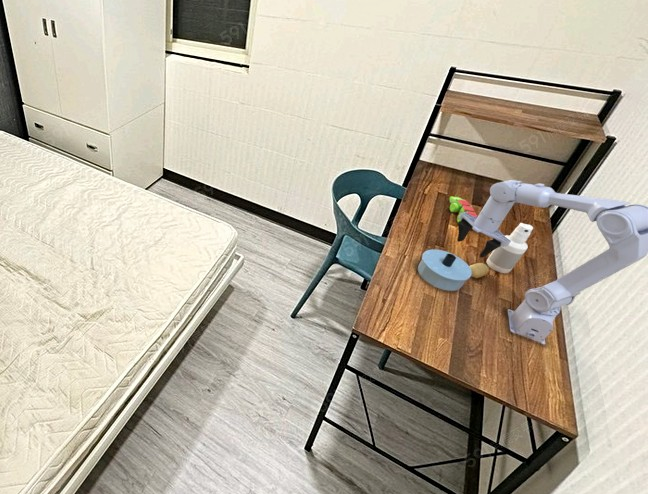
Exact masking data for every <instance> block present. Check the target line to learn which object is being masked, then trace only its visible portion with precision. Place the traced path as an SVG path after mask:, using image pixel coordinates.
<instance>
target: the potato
mask: <svg viewBox="0 0 648 494" xmlns="http://www.w3.org/2000/svg"><path fill="white" fill-rule="evenodd" d="M468 266H469V267H470V269H471V271H472V275H471V277H470V278H475V279H478V278H482V277H484V276H486V275H487V274H488V273H489V266H488V265H487V264H485V263H483V262H477V263H473V264H470V265H468Z"/></svg>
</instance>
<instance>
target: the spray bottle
mask: <svg viewBox="0 0 648 494" xmlns="http://www.w3.org/2000/svg"><path fill="white" fill-rule="evenodd" d="M533 230H534V226H532V225H531V224H527V223H523V222H520V223H519V224H518V225H517V227H515V228H514V230H513V231H512V232H511V233H510V235H509V234H508V235H507V234H506V235H504V236H505V237H506V238H508V239H509V240H511V242H510V243H509V245H508V246H505V247H503V246H500V247H498V248H496V249H495V250H493V251H492V252H490V254H489V256H488V257H487V259H486V266H487V267H488V268H490V269H491V270H493V271H495V272H497V273H500V274H509V273H511V271H512V270H513V269H514V267H515V266H516V265H517V263H518V262H519V260H520V259H521V258H522V257H523V255H524V254H525V252H526V251H527V250H528V248H529V246H528V243H527V241H528V239H529V237H530V236H531V233H532V231H533Z"/></svg>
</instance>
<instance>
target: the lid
mask: <svg viewBox="0 0 648 494" xmlns="http://www.w3.org/2000/svg"><path fill="white" fill-rule="evenodd" d="M421 260H423V262H424V264H425V265H426V266H427V267H428V268H429V269H430V270H431V271H432V272H434V273H435V274H437V275H439V276H441V277H443V278H446V279H449V280H453V281H465V280H466V281H468V280H469V279H470V278H472V277H471V275H472V271H471V269H470V267H469V266H470V265H469V264H468V263H467V262H466V261H465V260H463V259H462V258H460V257H459V256H458V255H456V254H453V253H451V252H449V251H446V250H442V249H437V248H436V249H427V250H425V251H424V252H423V254H422V255H421ZM466 281H465V282H466Z"/></svg>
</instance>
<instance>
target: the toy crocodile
mask: <svg viewBox="0 0 648 494" xmlns="http://www.w3.org/2000/svg"><path fill="white" fill-rule="evenodd" d="M448 200H449V203H450V205H449V210H450V212H451V213H458V215H457V218H456V222H457V223H458V222H459V221H461V220H462V219H460V218H458V217H459V216H460V214H461V213H464V212H466V213H468V214H470V215H472V216H474V217H478V214H477V212H475V209H474V207H473V205H472V204H470V203H469V201H467V200H466V199H463V198H462V197H459V196H449V199H448ZM472 229H473V227H472Z"/></svg>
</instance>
